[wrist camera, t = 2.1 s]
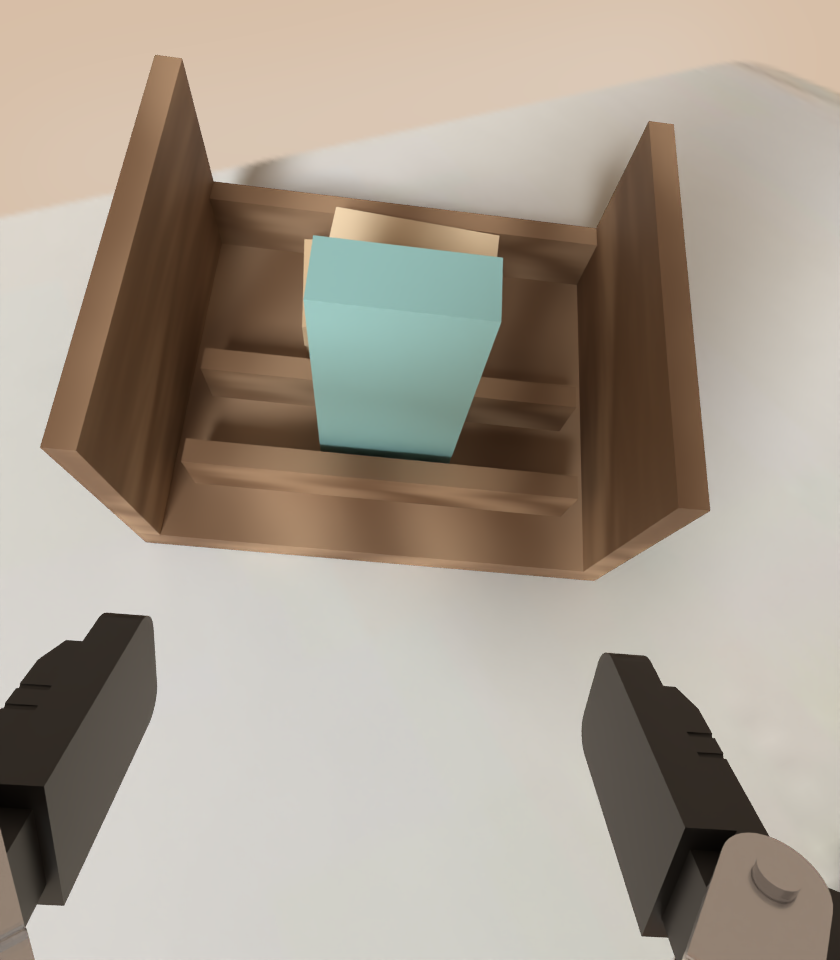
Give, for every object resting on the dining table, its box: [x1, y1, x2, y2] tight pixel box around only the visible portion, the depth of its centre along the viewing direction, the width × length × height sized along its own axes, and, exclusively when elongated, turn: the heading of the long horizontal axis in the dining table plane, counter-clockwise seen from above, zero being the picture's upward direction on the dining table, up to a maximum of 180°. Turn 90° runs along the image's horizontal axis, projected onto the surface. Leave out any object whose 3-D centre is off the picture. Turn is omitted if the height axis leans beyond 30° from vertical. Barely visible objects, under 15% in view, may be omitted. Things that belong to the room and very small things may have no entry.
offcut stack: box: [302, 207, 499, 359], centre depth 30 cm, size 9×5×4 cm, turn 86°
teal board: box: [303, 235, 503, 464], centre depth 24 cm, size 6×2×12 cm, turn 86°
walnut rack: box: [40, 55, 710, 581], centre depth 27 cm, size 20×16×10 cm
